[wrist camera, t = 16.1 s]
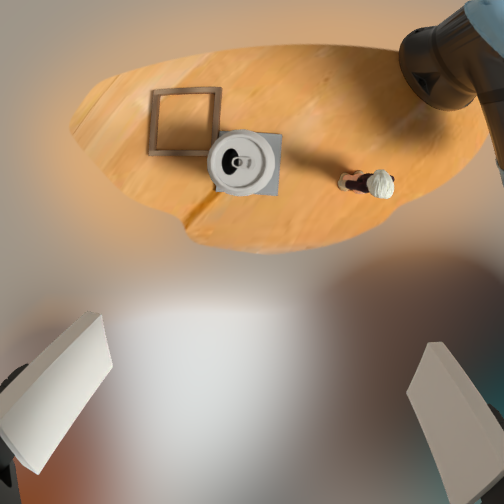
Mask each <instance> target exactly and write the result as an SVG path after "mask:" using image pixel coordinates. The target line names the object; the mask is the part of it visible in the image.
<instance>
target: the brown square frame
mask: <svg viewBox="0 0 504 504" xmlns="http://www.w3.org/2000/svg"><path fill="white" fill-rule="evenodd" d="M180 94H215V102H214V114H213V127H212V142H211V147H212V145H213V144H214V142H215V141H216V140H217V139H218V138H219V125H220V111H221V99H222V87H195V88H175V89H161V90H154V94H153V103H152V114H151V126H150V141H149V156H208V154H209V151H199V150H158V151H156V144H157V129H158V116H159V105H160V96H164V95H180Z"/></svg>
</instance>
